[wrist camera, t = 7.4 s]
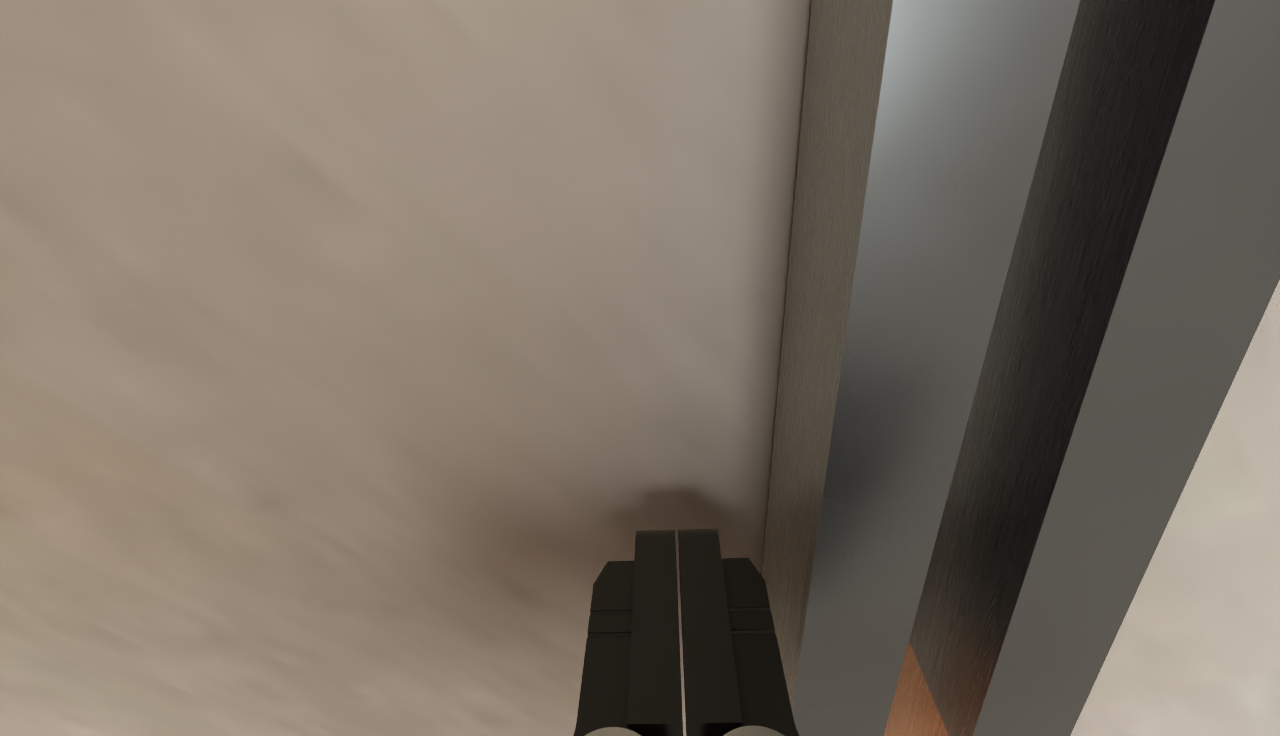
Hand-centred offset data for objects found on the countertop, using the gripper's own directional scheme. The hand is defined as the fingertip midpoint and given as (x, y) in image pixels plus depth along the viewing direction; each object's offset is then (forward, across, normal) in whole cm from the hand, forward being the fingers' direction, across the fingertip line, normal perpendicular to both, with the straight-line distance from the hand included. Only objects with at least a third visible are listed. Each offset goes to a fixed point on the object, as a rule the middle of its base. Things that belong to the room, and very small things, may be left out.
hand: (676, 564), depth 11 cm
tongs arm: (+1, -3, -5) cm, 6 cm away
